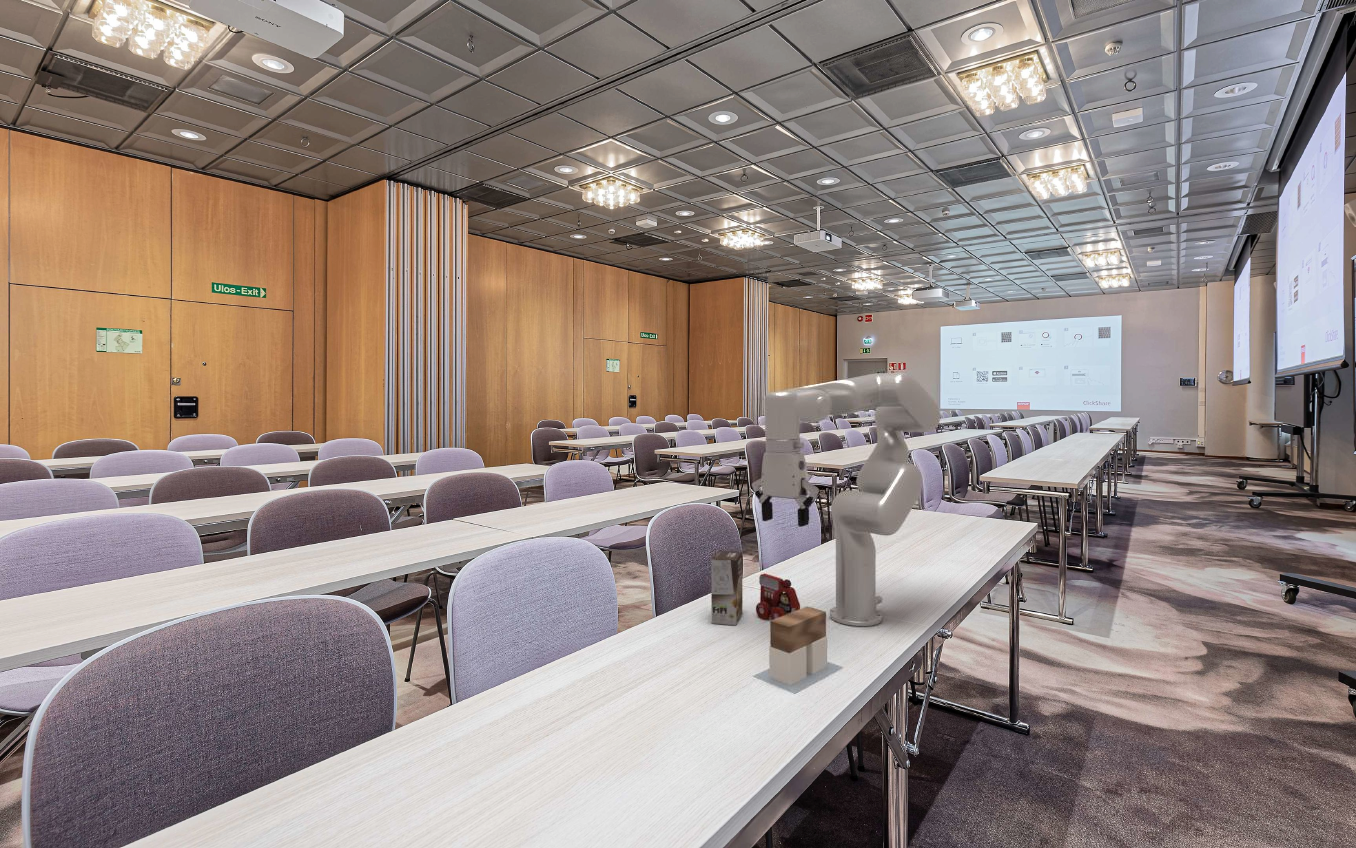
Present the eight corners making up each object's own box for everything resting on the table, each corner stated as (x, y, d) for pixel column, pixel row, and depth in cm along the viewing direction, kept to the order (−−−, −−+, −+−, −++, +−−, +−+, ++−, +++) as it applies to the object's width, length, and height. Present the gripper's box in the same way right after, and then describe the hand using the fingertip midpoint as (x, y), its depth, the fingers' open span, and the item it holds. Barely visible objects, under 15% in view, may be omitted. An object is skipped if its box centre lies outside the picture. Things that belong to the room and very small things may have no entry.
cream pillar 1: (785, 669, 122) (785, 639, 122) (806, 677, 118) (806, 646, 118) (769, 677, 119) (769, 646, 118) (790, 685, 115) (790, 653, 115)
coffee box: (736, 626, 149) (736, 560, 148) (710, 624, 150) (710, 558, 150) (743, 613, 157) (742, 551, 157) (718, 611, 159) (718, 549, 159)
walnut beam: (807, 630, 126) (807, 606, 126) (826, 636, 123) (825, 611, 123) (770, 646, 118) (770, 620, 118) (789, 653, 115) (789, 627, 115)
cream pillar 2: (806, 659, 127) (806, 630, 127) (827, 666, 123) (827, 636, 123) (791, 666, 123) (791, 636, 123) (812, 674, 120) (812, 643, 119)
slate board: (802, 657, 130) (802, 652, 130) (843, 672, 123) (843, 667, 123) (752, 681, 119) (752, 676, 119) (795, 699, 112) (795, 693, 112)
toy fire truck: (787, 629, 146) (787, 586, 146) (751, 615, 156) (750, 574, 156) (807, 622, 151) (807, 580, 150) (770, 609, 160) (770, 570, 160)
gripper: (825, 446, 134) (827, 524, 135) (761, 444, 146) (764, 515, 147) (806, 450, 129) (808, 531, 130) (741, 447, 141) (744, 521, 142)
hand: (785, 522), depth 138 cm, fingers open, 9 cm apart
